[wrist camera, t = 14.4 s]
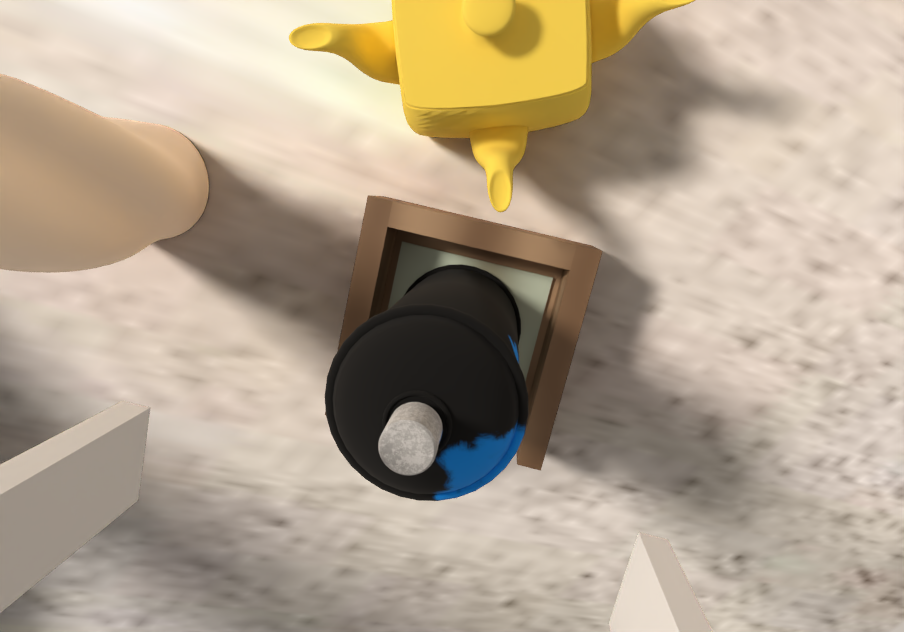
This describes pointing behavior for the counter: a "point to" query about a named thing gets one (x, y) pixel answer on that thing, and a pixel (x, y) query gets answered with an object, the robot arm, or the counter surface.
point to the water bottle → (88, 183)
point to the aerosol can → (432, 387)
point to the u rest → (504, 256)
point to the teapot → (488, 66)
